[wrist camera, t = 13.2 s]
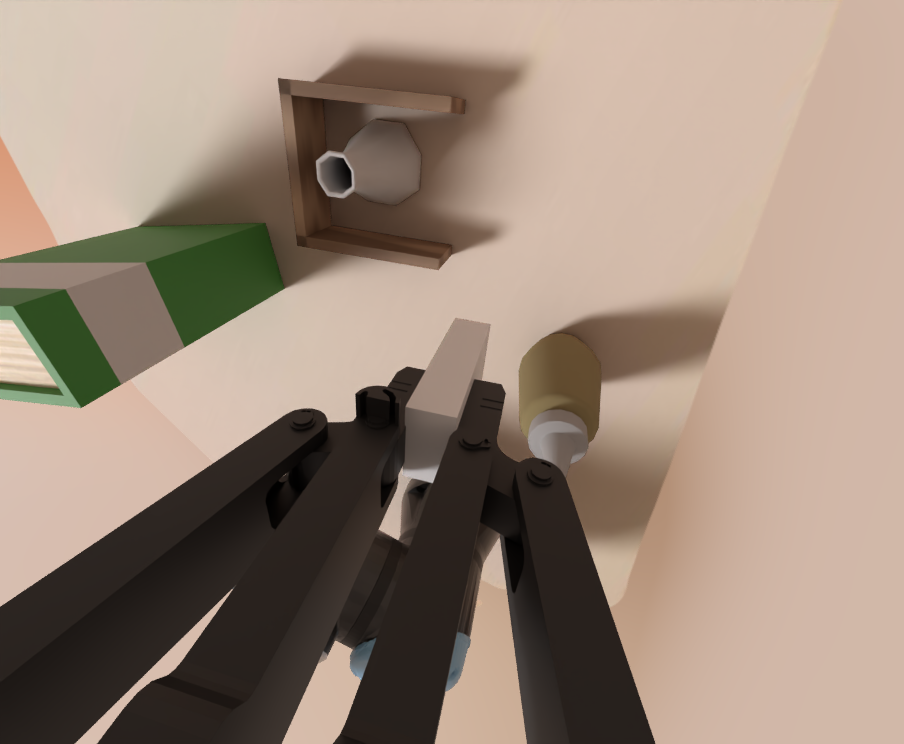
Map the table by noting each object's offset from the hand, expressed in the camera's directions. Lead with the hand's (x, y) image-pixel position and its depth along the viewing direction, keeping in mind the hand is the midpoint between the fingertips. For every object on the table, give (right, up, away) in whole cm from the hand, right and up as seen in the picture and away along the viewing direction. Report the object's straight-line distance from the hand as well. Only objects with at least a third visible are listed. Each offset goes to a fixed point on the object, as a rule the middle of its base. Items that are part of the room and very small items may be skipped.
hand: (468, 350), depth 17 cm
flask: (-7, +19, +20) cm, 28 cm away
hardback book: (-29, +13, +30) cm, 44 cm away
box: (-7, +18, +21) cm, 28 cm away
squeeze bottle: (+11, +1, +26) cm, 28 cm away
